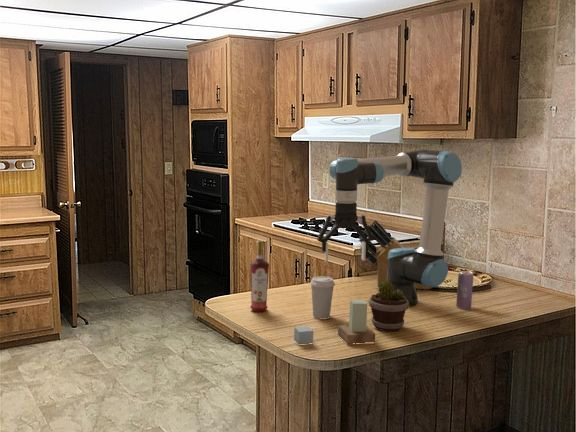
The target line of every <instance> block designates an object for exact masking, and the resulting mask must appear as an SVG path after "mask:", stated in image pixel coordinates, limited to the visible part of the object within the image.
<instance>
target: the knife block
mask: <svg viewBox="0 0 576 432" xmlns="http://www.w3.org/2000/svg"><path fill="white" fill-rule="evenodd" d="M368 227H369V230H370V232H371V234H372V236H373V238H374V240H375V241H376V243H377V244H379V246H380V247H382V248H380V249H378V248H377V246H376V245H375V244H374V243H373V242H372V241H370V242H369V243H368V251H366V252H365V259H368V261H370V262H371V263H372V264H373V265H374V266H375V267H377V277H376V278H377V280H376V281H377V287H378V288H380V286H379V285H380V284H381V283H380V281H382V282H383V280H386V278H387V258H388V252H389V251H390V250H391V249H396V248H405V247H404V246H403V245H402V243H400V241H398V239H396V238H395V237H393V236H391V235H390V233H388V231H386V229H385V228H384V227H383V226H382V224H380V223H379V222H378V221H377V220H376V219H374V220H373V221H372V223H370V224H368ZM366 238H368V236H366ZM358 239H359V240H358V241H359V242H360V243H361V244H362V242H363V241H364V240H363V239H362V237H361V236H360V235H359V236H358ZM359 251H360V254H361V255H362V246H361V247H360V250H359ZM432 288H433V287H429V286H424V285H422V284H418V283H415V289H421V290H431V289H432Z"/></svg>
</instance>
